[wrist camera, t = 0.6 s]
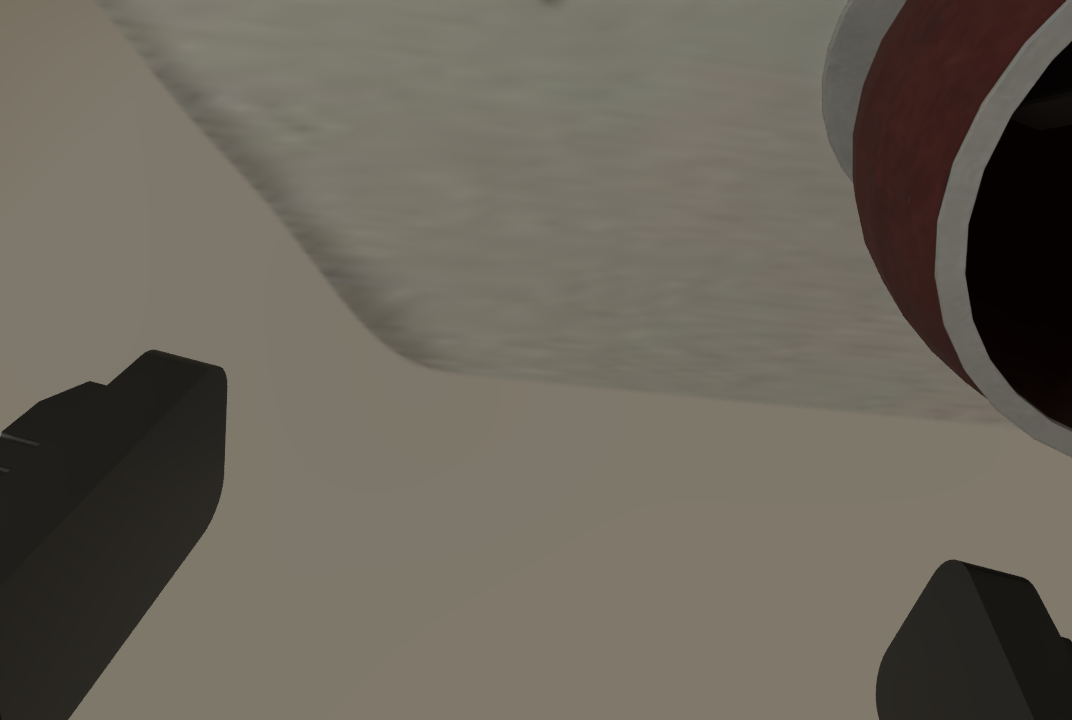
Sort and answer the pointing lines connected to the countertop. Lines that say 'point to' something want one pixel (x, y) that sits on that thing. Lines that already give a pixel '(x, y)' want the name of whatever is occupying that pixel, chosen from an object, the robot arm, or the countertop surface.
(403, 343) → the countertop surface
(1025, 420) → the mate gourd
